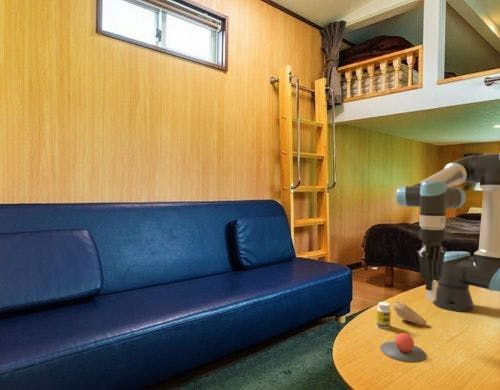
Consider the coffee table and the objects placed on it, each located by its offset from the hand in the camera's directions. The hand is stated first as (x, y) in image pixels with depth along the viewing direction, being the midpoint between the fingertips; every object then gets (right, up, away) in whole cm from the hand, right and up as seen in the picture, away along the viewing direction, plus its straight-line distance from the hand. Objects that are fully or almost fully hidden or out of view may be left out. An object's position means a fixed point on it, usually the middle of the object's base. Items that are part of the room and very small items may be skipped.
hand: (430, 299), depth 116 cm
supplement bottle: (-11, -14, +13) cm, 22 cm away
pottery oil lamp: (0, -14, +17) cm, 22 cm away
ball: (-12, -12, -7) cm, 18 cm away
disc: (-12, -14, -7) cm, 20 cm away
